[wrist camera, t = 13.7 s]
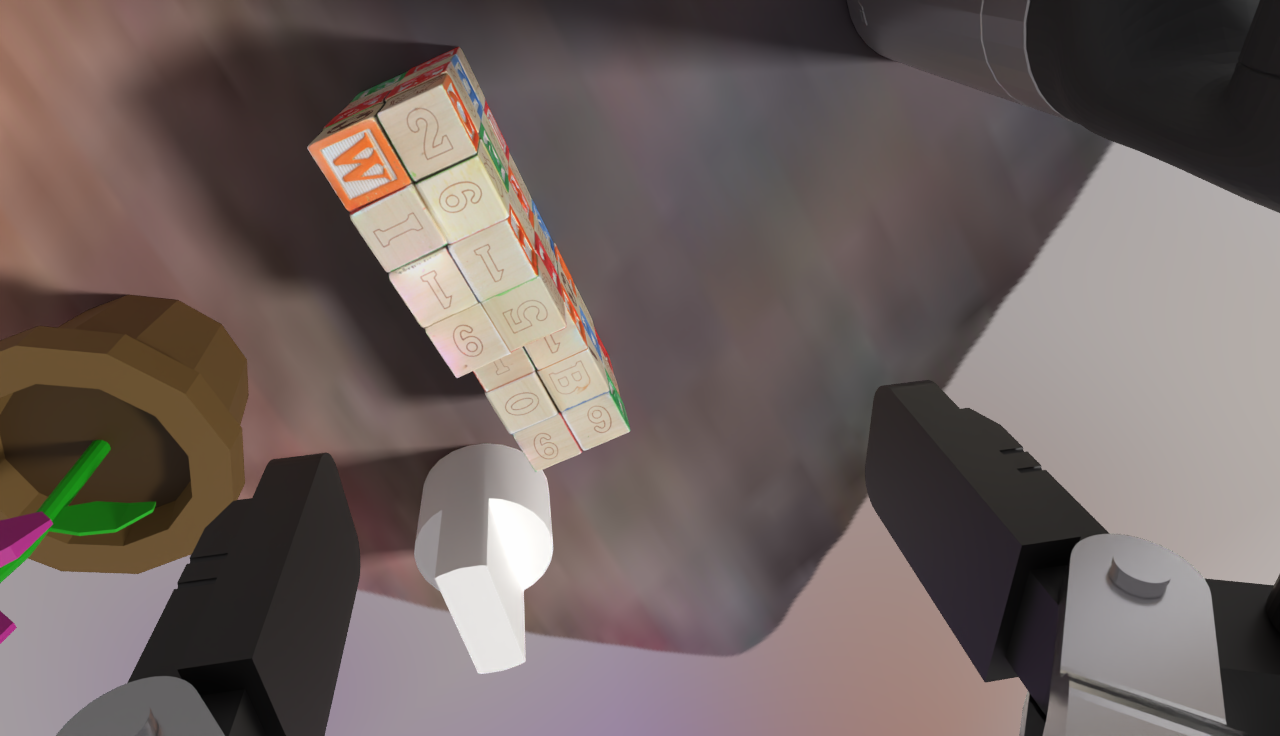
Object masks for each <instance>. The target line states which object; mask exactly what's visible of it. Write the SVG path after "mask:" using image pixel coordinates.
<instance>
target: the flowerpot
mask: <svg viewBox="0 0 1280 736" xmlns="http://www.w3.org/2000/svg"><path fill="white" fill-rule="evenodd" d="M247 399H248V376H247V359H246V358H245V356H244V355H243V354H242V352H241V351H240V349H239V348H238V347H237V345H236V344H235V342H234V341H233V340H232V338H231V337H230V336H229V334H228V333H227V331H226V330H225V329H224V327H223V326H222V324H220V323H218V322H216V321H215V320H213V319H211V318H209V317H207V316H206V315H204V314H202V313H200V312H198V311H197V310H195V309H193V308H191V307H189V306H188V305H186V304H184V303H182V302H180V301H179V300H172V299H163V298H154V297H144V296H135V295H126V296H123V297H121V298H118V299H116V300H113V301H110V302H108V303H105V304H103V305H100V306H97V307H95V308H92V309H90V310H87V311H85V312H83V313H82V314H80V315H78V316H77V317H75V318H73V319H71V320H70V321H68V322H66V323H65V324H63V325H61V326H59V327H58V328H56V327H46V326H37V327H34V328H32V329H29V330H27V331H24V332H22V333H19V334H16V335H14V336H11V337H9V338H6V339H3V340H1V341H0V583H1V582H2V581H3V580H4V579H5V578H6V577H7V576H9V575H10V574H11V573H12V572H13V571H14V570H15V569H16V568H17V567H19V566H20V565H21V564H22V563H23V562H24V561H25V560H26V559H27V558H29V559H31V560H34V561H36V562H39V563H42V564H44V565H47V566H49V567H52V568H55V569H58V570H60V571H71V572H74V571H75V572H100V573H130V574H139V573H142V572H145V571H147V570H150V569H152V568H155V567H158V566H161V565H163V564H166V563H169V562H171V561H174V560H177V559H180V558H182V557H185V556H188V555H190V554H192V553H193V551H194V549H195V547H196V545H197V543H198V541H199V539H200V537H201V535H202V533H203V531H204V528H205V527H206V526H208V525H209V524H210V523H211V522H212V521H213V520H214V519H215V518H216V517H217V516H218V515H219V514H220V513H221V512H222V511H223V510H224V509H225V508H226V507H227V506H228V505H229V504H230V503H231V502H232V501H235V500H237V499H238V497H239V495H240V493H241V491H242V489H243V486H244V484H245V476H244V457H243V439H242V428H241V426H240V424H241V420H242V417H243V413H244V410H245V406H246V403H247ZM15 629H16V626H15V624H14V623H13V622H12V621H11V620H10V619H9V618H8V617H6V616H5V615H4V614H3V613H2V612H1V611H0V644H1V643H2V642H3V641H4V640H5V639H6V638H7V637H8V636H9V635H10V634H11V633H12V632H13V631H14V630H15Z"/></svg>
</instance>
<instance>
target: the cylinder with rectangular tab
mask: <svg viewBox="0 0 1280 736" xmlns="http://www.w3.org/2000/svg"><path fill="white" fill-rule="evenodd" d="M552 553H553V538H552V525H551V511H550V498H549V489H548V482H547V478H546V476H545V474H544V472H543V470H540V471H538V472H535V471H534V469H533V468H532V466H531V465H530V463H529V461H528V460H527V458H526V456H525V455H524V453H523V452H521V451H519V450H518V449H514V448H511V447H508V446H505V445H500V444H487V443H484V444H476V445H469V446H466V447H463V448H460V449H457V450H455V451H452V452H451V453H449V454H448V455H446V456H445V457H443V458H442V459H440V460H439V461H438V462H437V463H436V464H435V465H434V467H433V468H432V469H431V470H430V471H429V473H428V476H427V478H426V480H425V482H424V486H423V493H422V500H421V507H420V514H419V520H418V527H417V534H416V541H415V551H414V556H415V560H416V564H417V567H418V569H419V571H420V572H421V574H422V575H423V577H424V578H425V580H426V581H427V582H429V583H430V584H431V585H432V586H434V587H435V588H436V589H437V590H439V591H441V593H442V595H443V598H444V600H445V602H446V604H447V606H448V609H449V611H450V613H451V615H452V617H453V619H454V622H455V624H456V626H457V628H458V630H459V632H460V635H461V637H462V639H463V641H464V643H465V646H466V648H467V650H468V652H469V654H470V656H471V659H472V661H473V663H474V665H475V667H476V669H477V672H478V673H479V674H485V673H491V672H498V671H503V670H506V669H509V668H511V667H515V666H518V665H520V664H522V663H524V662H525V661H526V658H525V620H524V590H525V589H527V588H528V587H530V586H532V585H533V584H534V583H535V582H536V581H537V580H538V579H539V578H540V577H541V576H542V575H543V574H544V573H545V571H546V569H547V567H548V566H549V564H550V562H551V558H552Z"/></svg>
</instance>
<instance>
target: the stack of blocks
mask: <svg viewBox="0 0 1280 736" xmlns="http://www.w3.org/2000/svg"><path fill="white" fill-rule="evenodd" d="M307 149H308V151H309V152H310V154H311V155H312V157H313V159H314V160H315V162H316V163H317V165H318V166H319V168H320V169H321V171H322V172H323V174H324V175H325V177H326V178H327V180H328V181H329V183H330V185H331V186H332V188H333V190H334V191H335V192H336V194H337V196H338V197H339V199H340V200H341V202H342V203H343V205H344V207H345V208H346V209H347V210H348V211H349V212H350V219H351V221H352V222H353V224H354V225H355V227H356V228H357V230H358V231H359V233H360V234H361V236H362V237H363V239H364V240H365V242H366V243H367V245H368V246H369V248H370V249H371V251H372V252H373V254H374V255H375V257H376V258H377V260H378V261H379V263H380V264H381V265H382V267H383V268H384V270H385V271H386V272H388V273H389V275H388V277H389V280H390V282H391V283H392V284H393V286H394V288H395V289H396V291H397V292H398V293H399V295H400V296H401V298H402V299H403V301H404V302H405V304H406V305H407V307H408V308H409V310H410V311H411V313H412V314H413V316H414V317H415V319H416V320H417V322H418V323H419V324H420V326H422V327H423V328H424V329H425V331H426V334H427V335H428V337H429V338H430V340H431V341H432V343H433V344H434V346H435V347H436V349H437V350H438V352H439V353H440V355H441V356H442V358H443V359H444V361H445V362H446V364H447V365H448V367H449V368H450V370H451V371H452V373H453V374H454V376H455V377H456V378H459V377H461V376H463V375H465V374H467V373H470V372H472V371H473V373H474V374H475V376H476V378H477V379H478V381H479V383H480V384H481V386H482V387H483V389H484V390H485V395H486V397H487V398H488V400H489V402H490V403H491V405H492V407H493V408H494V410H495V412H496V413H497V415H498V417H499V418H500V420H501V421H502V423H503V424H504V426H505V428H506V429H507V431H508V432H509V433H510V434H512V435H513V436H514V438H515V440H516V442H517V443H518V445H519V447H520V448H521V450H522V451H523V453H524V455H525V456H526V458H527V460H528V461H529V463H530V465H531V466H532V468H533V469H534V471H535V472H538V471H540V470H543V469H545V468H548V467H550V466H552V465H555V464H557V463H559V462H562V461H564V460H566V459H569V458H571V457H574V456H576V455H579V454H581V453H582V451H584V450H588V449H590V448H593V447H595V446H598V445H600V444H602V443H605V442H607V441H609V440H611V439H614V438H616V437H618V436H621V435H623V434H626V433H628V432H630V426H629V422H628V418H627V414H626V410H625V407H624V404H623V402H622V400H621V398H620V394H619V390H618V386H617V382H616V379H615V377H614V373H613V368H612V364H611V361H610V357H609V355H608V353H607V351H606V349H605V347H604V346H603V344H602V342H601V340H600V338H599V336H598V334H597V332H596V330H595V328H594V325H593V321H592V319H591V316H590V314H589V312H588V310H587V308H586V306H585V304H584V302H583V300H582V298H581V296H580V294H579V292H578V290H577V288H576V286H575V284H574V282H573V279H572V277H571V275H570V273H569V271H568V269H567V267H566V265H565V263H564V261H563V259H562V257H561V255H560V252H559V250H558V248H557V246H556V244H555V243H554V242H553V241H552V239H551V237H550V235H549V233H548V230H547V228H546V226H545V224H544V222H543V220H542V218H541V216H540V214H539V212H538V210H537V208H536V206H535V204H534V202H533V200H532V199H531V197H530V194H529V192H528V190H527V188H526V186H525V184H524V182H523V180H522V178H521V176H520V173H519V171H518V169H517V167H516V165H515V163H514V161H513V159H512V157H511V155H510V153H509V148H508V146H507V144H506V142H505V140H504V138H503V136H502V134H501V132H500V130H499V128H498V125H497V123H496V121H495V119H494V117H493V115H492V113H491V111H490V109H489V107H488V105H487V103H486V100H485V98H484V95H483V93H482V91H481V89H480V87H479V85H478V82H477V80H476V78H475V76H474V74H473V72H472V70H471V68H470V66H469V64H468V62H467V59H466V57H465V55H464V53H463V51H462V49H461V48H460V47H457V48H455V49H452V50H450V51H448V52H446V53H444V54H442V55H439V56H437V57H435V58H433V59H431V60H429V61H427V62H424V63H422V64H420V65H418V66H416V67H413V68H411V69H410V70H409V71H407V72H405V73H403V74H401V75H398V76H396V77H394V78H392V79H390V80H387V81H385V82H383V83H381V84H379V85H376V86H374V87H372V88H370V89H368V90H365V91H363V92H360V93H359V94H358V95H357V96H356V97H355V98H354V99H353V100H352V101H351V102H350V103H349V105H348V106H347V107H346V108H344V109H343V110H342V111H341V112H340V113H339V115H337V116H335V117H334V118H333V119H332V120H331V121H330V122H329V123H328V124H327V125H326V126H325V127H324V128H323V131H322V132H321V133H320V134H319V135H318V136H317V137H316V138H315V139H314V140H313V141H312V142H311V143H310V144H309V145H308V147H307Z"/></svg>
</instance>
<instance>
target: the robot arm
mask: <svg viewBox="0 0 1280 736" xmlns="http://www.w3.org/2000/svg"><path fill="white" fill-rule="evenodd" d="M847 4H848V9H849V13H850V17H851V20H852V22H853V24H854V26H855V28H856V31H857V33H858V34H859V35H860V36H861V38H862V39H863V40H864V42H865V43H866V44H867V45H868V46H869V47H870V48H872V49H873V50H874V51H875V52H877V53H878V54H879V55H882V56H884V57H886V58H889V59H891V60H894V61H897V62H899V63H902V64H905V65H908V66H911V67H914V68H916V69H919V70H922V71H925V72H928V73H930V74H933V75H936V76H939V77H942V78H945V79H948V80H951V81H954V82H957V83H960V84H963V85H966V86H969V87H972V88H974V89H977V90H980V91H983V92H986V93H989V94H992V95H995V96H998V97H1001V98H1004V99H1007V100H1010V101H1013V102H1015V103H1018V104H1021V105H1024V106H1028V107H1031V108H1034V109H1037V110H1040V111H1043V112H1046V113H1049V114H1052V115H1055V116H1058V117H1061V118H1064V119H1066V120H1069V121H1073V122H1075V123H1078V124H1081V125H1082V126H1084V127H1085V128H1086V129H1088V130H1090V131H1091V132H1093V133H1095V134H1097V135H1099V136H1102V137H1104V138H1106V139H1108V140H1111V141H1113V142H1116V143H1119V144H1122V145H1125V146H1127V147H1130V148H1133V149H1135V150H1138V151H1140V152H1143V153H1145V154H1147V155H1150V156H1152V157H1154V158H1157V159H1159V160H1161V161H1163V162H1166V163H1168V164H1170V165H1173V166H1175V167H1177V168H1179V169H1182V170H1184V171H1186V172H1188V173H1191V174H1192V175H1195V176H1197V177H1199V178H1201V179H1203V180H1206V181H1208V182H1210V183H1212V184H1214V185H1216V186H1219V187H1221V188H1223V189H1225V190H1227V191H1230V192H1232V193H1234V194H1236V195H1238V196H1240V197H1243V198H1245V199H1247V200H1249V201H1252V202H1254V203H1257V204H1259V205H1262V206H1264V207H1267V208H1269V209H1272V210H1274V211H1276V212H1279V213H1280V0H847ZM865 481H866V487H867V492H868V495H869V498H870V501H871V503H872V506H873V507H874V509H875V511H876V513H877V514H878V516H879V517H880V519H881V520H882V522H883V523H884V525H885V527H886V528H887V530H888V531H889V533H890V534H891V536H892V538H893V539H894V541H895V542H896V544H897V546H898V547H899V549H900V550H901V552H902V553H903V555H904V556H905V558H906V560H907V561H908V563H909V564H910V566H911V567H912V569H913V570H914V572H915V573H916V575H917V577H918V578H919V580H920V581H921V583H922V584H923V586H924V587H925V589H926V591H927V592H928V594H929V596H930V597H931V599H932V600H933V602H934V603H935V605H936V606H937V608H938V610H939V611H940V613H941V614H942V616H943V617H944V619H945V620H946V622H947V624H948V625H949V627H950V628H951V630H952V631H953V633H954V635H955V636H956V638H957V639H958V641H959V642H960V644H961V645H962V647H963V649H964V650H965V652H966V653H967V655H968V656H969V658H970V660H971V661H972V663H973V664H974V666H975V667H976V669H977V671H978V672H979V674H980V675H981V677H982V678H983V680H984V682H991V681H996V680H1002V679H1008V678H1014V677H1019V678H1020V680H1021V681H1022V682H1023V684H1024V685H1025V687H1026V688H1027V690H1028V693H1027V696H1026V699H1025V702H1024V706H1023V712H1022V720H1021V727H1020V734H1019V736H1280V575H1279V577H1278V579H1277V581H1276V583H1275V585H1262V584H1253V583H1243V582H1233V581H1223V580H1213V579H1204V578H1203V576H1202V575H1201V574H1200V573H1199V571H1197V570H1196V569H1195V568H1194V567H1193V566H1192V565H1191V564H1190V563H1189V562H1187V561H1186V560H1185V559H1183V558H1182V557H1181V556H1179V555H1177V554H1176V553H1174V552H1173V551H1171V550H1169V549H1167V548H1165V547H1163V546H1161V545H1158V544H1156V543H1153V542H1151V541H1148V540H1145V539H1141V538H1138V537H1133V536H1129V535H1121V534H1109V533H1108V532H1107V531H1106V530H1105V529H1104V528H1103V527H1102V526H1101V525H1100V524H1099V523H1098V522H1097V521H1096V520H1095V519H1094V518H1093V517H1092V516H1091V515H1090V514H1089V513H1088V512H1087V511H1086V510H1085V509H1084V508H1083V507H1082V506H1081V505H1080V504H1079V503H1078V502H1077V501H1076V500H1075V499H1074V498H1073V497H1072V496H1071V495H1070V494H1069V493H1068V492H1067V491H1066V490H1065V489H1064V488H1063V487H1062V486H1061V485H1060V484H1059V483H1058V482H1057V481H1056V480H1055V479H1054V478H1053V477H1052V476H1051V475H1050V474H1049V473H1048V472H1047V471H1046V470H1042V469H1041V465H1040V464H1039V463H1038V462H1037V461H1036V460H1035V459H1034V458H1033V457H1032V456H1031V455H1030V454H1029V453H1028V452H1024V451H1023V447H1022V446H1021V445H1020V444H1019V443H1018V442H1017V441H1016V440H1015V439H1014V438H1013V437H1012V436H1011V435H1010V434H1009V433H1008V432H1007V431H1006V430H1005V429H1004V428H1003V427H1002V426H1001V425H1000V424H998V423H996V422H994V421H992V420H990V419H989V418H986V417H985V416H983V415H981V414H979V413H977V412H976V411H974V410H972V409H970V408H964V409H959V407H958V406H957V405H956V404H955V403H954V402H953V401H952V400H951V399H950V398H949V397H948V396H947V395H946V394H945V393H944V392H943V391H942V390H941V389H940V387H939V386H938V385H937V384H935V383H934V382H933V381H930V380H924V381H916V382H908V383H900V384H892V385H884V386H880V387H879V388H878V389H877V391H876V393H875V396H874V401H873V409H872V417H871V425H870V433H869V441H868V449H867V456H866V464H865ZM359 576H360V549H359V542H358V537H357V533H356V530H355V527H354V523H353V520H352V517H351V513H350V510H349V507H348V504H347V500H346V497H345V494H344V490H343V487H342V484H341V480H340V477H339V474H338V471H337V467H336V464H335V462H334V460H333V458H332V456H331V455H330V454H328V453H321V454H313V455H305V456H297V457H289V458H281V459H273V460H271V461H270V462H269V463H268V465H267V466H266V469H265V471H264V473H263V475H262V478H261V480H260V482H259V484H258V487H257V489H256V491H255V494H254V496H253V498H250V499H243V500H235V501H232V502H231V503H230V504H229V505H228V506H227V507H226V508H225V509H224V510H223V511H222V512H221V513H220V514H219V515H218V516H217V517H216V518H215V519H214V520H213V521H212V522H211V523H210V524H209V525H208V526H206V527H205V528H204V531H203V533H202V535H201V537H200V539H199V541H198V543H197V545H196V547H195V549H194V551H193V553H192V555H191V557H190V564H187V565H186V567H185V569H184V571H183V573H182V575H181V577H180V579H179V581H178V589H174V591H173V593H172V595H171V597H170V599H169V601H168V603H167V605H166V607H165V609H164V611H163V613H162V615H161V617H160V619H159V621H158V623H157V625H156V627H155V629H154V631H153V633H152V635H151V637H150V639H149V641H148V643H147V645H146V647H145V649H144V651H143V653H142V655H141V657H140V659H139V661H138V663H137V665H136V667H135V669H134V671H133V673H132V675H131V677H130V679H129V681H128V683H127V684H124V685H122V686H119V687H117V688H115V689H113V690H111V691H109V692H107V693H105V694H103V695H102V696H100V697H99V698H97V699H95V700H94V701H92V702H91V703H89V704H88V705H87V706H86V707H84V708H83V709H82V710H80V711H79V712H78V713H77V714H76V715H75V716H73V718H71V719H70V720H69V721H68V722H67V723H66V724H65V725H64V726H63V728H62V729H61V730H60V731H59V732H58V734H57V735H56V736H325V731H326V726H327V722H328V717H329V713H330V709H331V704H332V700H333V695H334V690H335V686H336V681H337V677H338V672H339V668H340V663H341V659H342V654H343V650H344V645H345V641H346V636H347V632H348V627H349V623H350V618H351V613H352V609H353V604H354V600H355V595H356V591H357V587H358V582H359Z"/></svg>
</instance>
